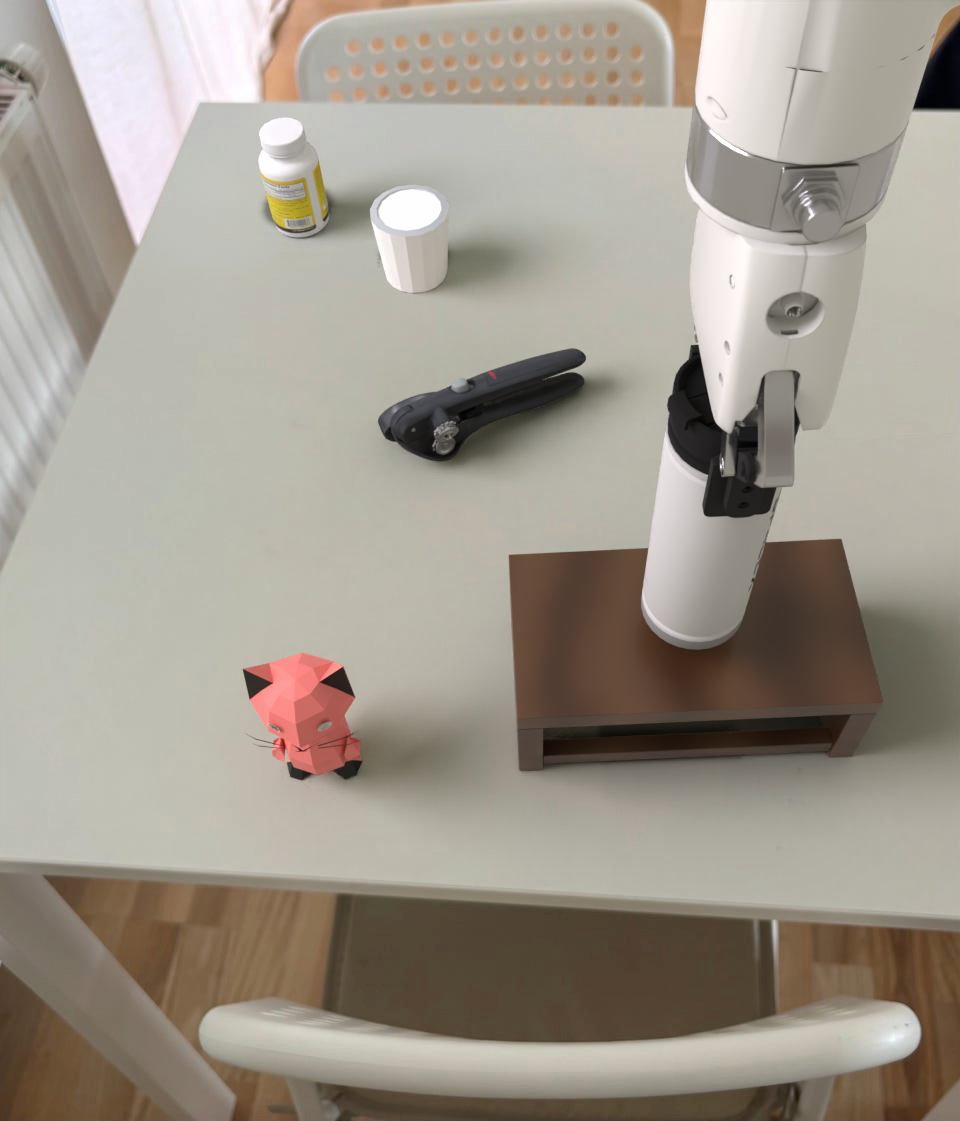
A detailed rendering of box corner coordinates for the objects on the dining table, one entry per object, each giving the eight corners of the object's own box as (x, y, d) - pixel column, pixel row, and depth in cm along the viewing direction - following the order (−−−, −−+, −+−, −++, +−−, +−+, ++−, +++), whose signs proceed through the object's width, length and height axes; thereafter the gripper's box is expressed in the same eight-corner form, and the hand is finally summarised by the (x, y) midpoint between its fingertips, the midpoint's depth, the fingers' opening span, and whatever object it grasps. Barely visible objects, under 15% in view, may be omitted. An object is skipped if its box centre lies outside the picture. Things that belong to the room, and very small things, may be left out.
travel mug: (618, 588, 69) (642, 363, 52) (710, 551, 70) (763, 320, 53) (666, 668, 66) (709, 457, 49) (762, 628, 67) (836, 408, 50)
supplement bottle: (304, 194, 107) (285, 104, 99) (341, 218, 105) (325, 128, 97) (262, 222, 105) (239, 132, 97) (298, 247, 103) (278, 157, 95)
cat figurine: (268, 801, 73) (225, 722, 63) (278, 707, 76) (239, 619, 66) (374, 799, 72) (349, 719, 62) (379, 705, 76) (356, 616, 66)
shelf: (816, 601, 79) (841, 538, 73) (852, 756, 73) (883, 702, 66) (511, 616, 80) (508, 554, 73) (519, 771, 73) (516, 718, 66)
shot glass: (411, 309, 98) (403, 246, 92) (363, 271, 101) (353, 208, 95) (469, 272, 100) (465, 209, 94) (421, 236, 103) (414, 172, 97)
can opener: (406, 487, 87) (399, 441, 82) (373, 427, 90) (364, 380, 86) (605, 410, 90) (609, 362, 86) (566, 355, 94) (568, 306, 89)
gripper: (957, 304, 36) (834, 597, 51) (844, 9, 45) (768, 328, 60) (724, 317, 36) (670, 604, 51) (661, 20, 45) (631, 335, 60)
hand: (724, 452), depth 55 cm, fingers closed on travel mug, 6 cm apart
